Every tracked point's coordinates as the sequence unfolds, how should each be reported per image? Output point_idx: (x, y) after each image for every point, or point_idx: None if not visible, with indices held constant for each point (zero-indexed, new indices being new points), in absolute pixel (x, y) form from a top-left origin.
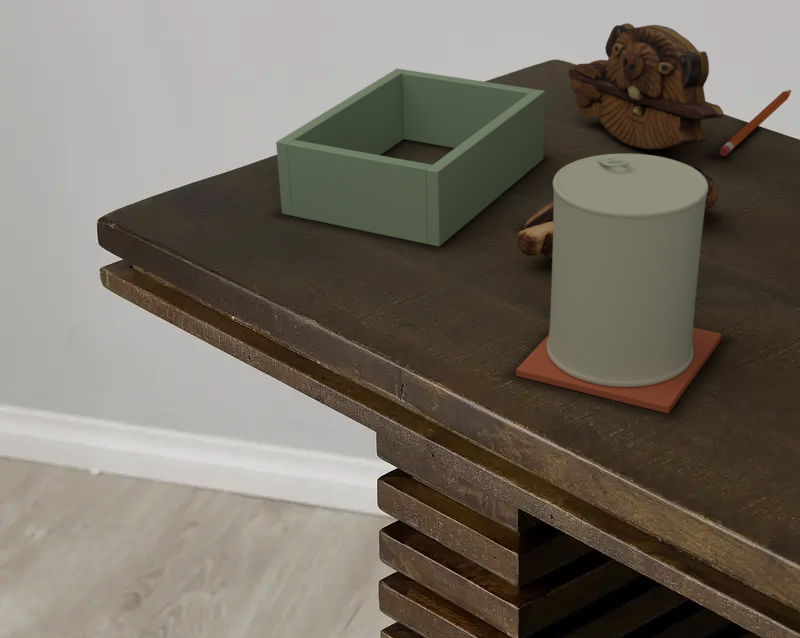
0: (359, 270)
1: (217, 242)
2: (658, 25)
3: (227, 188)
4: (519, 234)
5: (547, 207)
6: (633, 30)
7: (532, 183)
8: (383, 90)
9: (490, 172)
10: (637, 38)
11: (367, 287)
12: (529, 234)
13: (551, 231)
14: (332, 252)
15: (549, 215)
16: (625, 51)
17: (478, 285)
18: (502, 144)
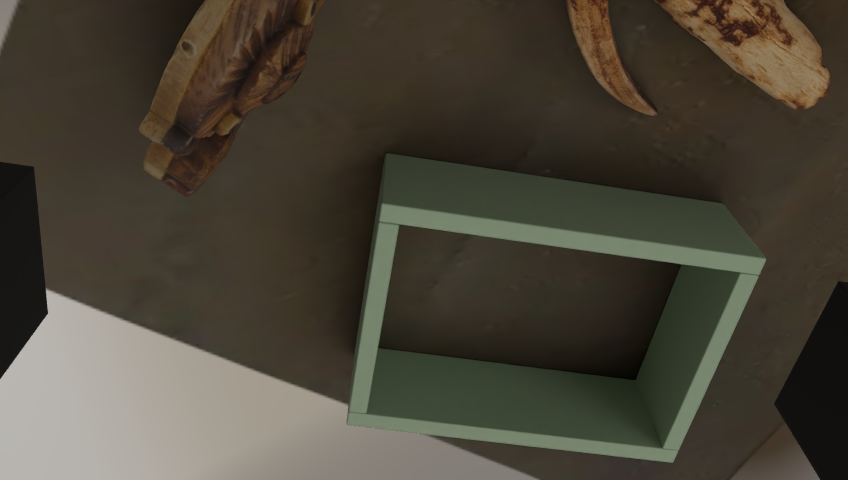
0: (796, 268)
1: (729, 422)
2: (171, 65)
3: (579, 464)
4: (813, 105)
5: (635, 96)
6: (209, 111)
7: (482, 144)
8: (422, 414)
9: (582, 202)
10: (229, 94)
11: (843, 246)
12: (821, 91)
13: (817, 62)
14: (747, 310)
15: (638, 88)
16: (251, 106)
17: (835, 124)
18: (546, 210)
